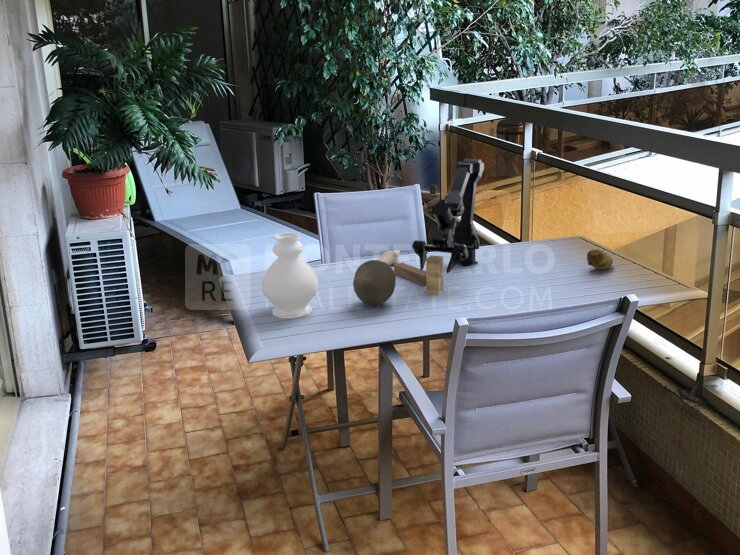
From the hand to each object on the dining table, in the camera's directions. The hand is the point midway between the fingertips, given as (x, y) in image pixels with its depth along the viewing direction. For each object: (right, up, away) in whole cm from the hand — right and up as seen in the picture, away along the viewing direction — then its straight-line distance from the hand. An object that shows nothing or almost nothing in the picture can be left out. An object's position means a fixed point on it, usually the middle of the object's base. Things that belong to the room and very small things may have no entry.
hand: (434, 271), depth 249 cm
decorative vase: (-46, -13, -12) cm, 50 cm away
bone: (-16, +1, +29) cm, 33 cm away
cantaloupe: (-20, -11, -9) cm, 25 cm away
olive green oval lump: (+63, +1, +22) cm, 66 cm away
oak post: (0, -7, +3) cm, 7 cm away
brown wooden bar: (-6, -2, +17) cm, 18 cm away
